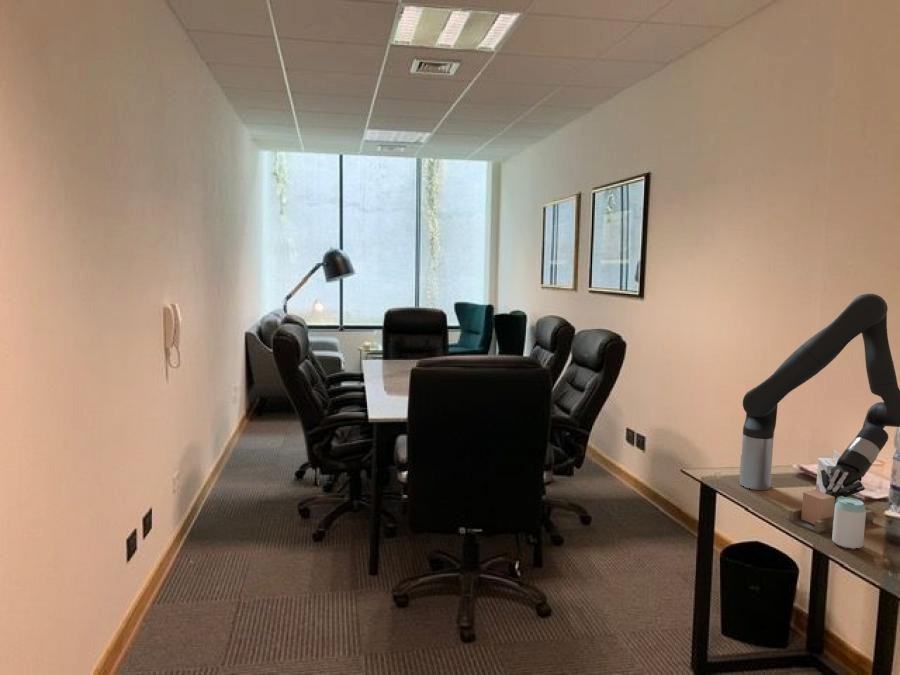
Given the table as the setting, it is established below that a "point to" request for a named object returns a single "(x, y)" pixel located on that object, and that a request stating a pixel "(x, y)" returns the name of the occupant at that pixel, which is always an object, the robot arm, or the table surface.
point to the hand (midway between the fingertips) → (825, 503)
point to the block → (817, 506)
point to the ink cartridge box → (827, 466)
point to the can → (849, 523)
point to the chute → (820, 521)
